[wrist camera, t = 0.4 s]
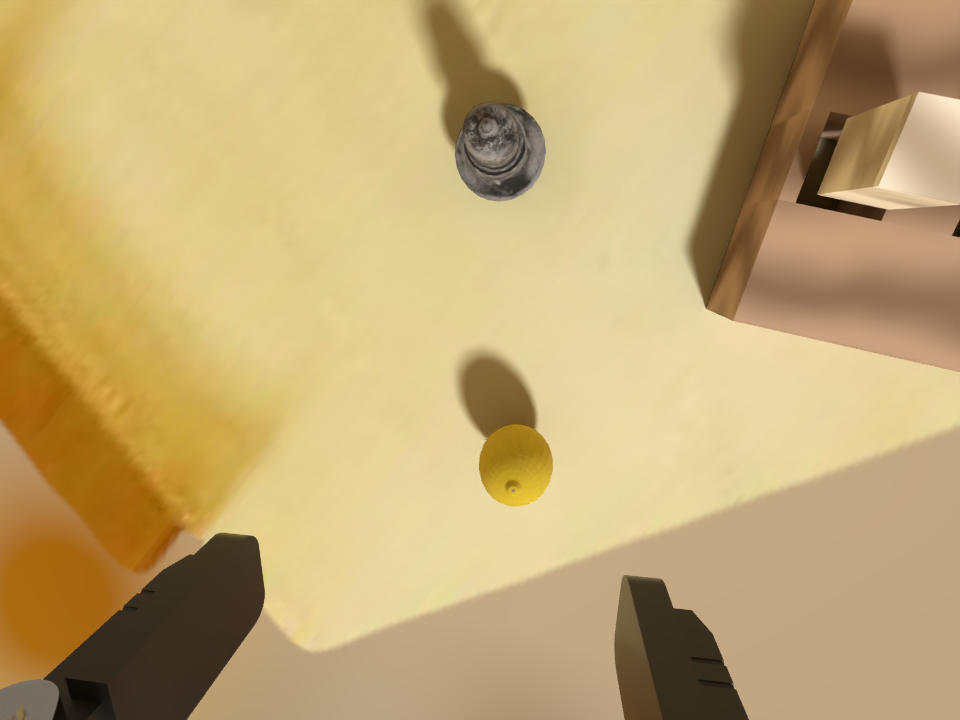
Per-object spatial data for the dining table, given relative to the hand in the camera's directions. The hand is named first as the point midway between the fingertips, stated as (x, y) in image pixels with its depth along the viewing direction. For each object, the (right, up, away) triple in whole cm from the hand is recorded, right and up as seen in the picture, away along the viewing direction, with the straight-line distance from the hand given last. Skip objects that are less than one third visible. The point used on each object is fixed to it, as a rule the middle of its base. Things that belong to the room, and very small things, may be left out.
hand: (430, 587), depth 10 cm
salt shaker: (+3, +19, +24) cm, 31 cm away
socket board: (+28, +16, +21) cm, 38 cm away
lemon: (+4, -2, +29) cm, 30 cm away
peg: (+23, +16, +16) cm, 32 cm away
